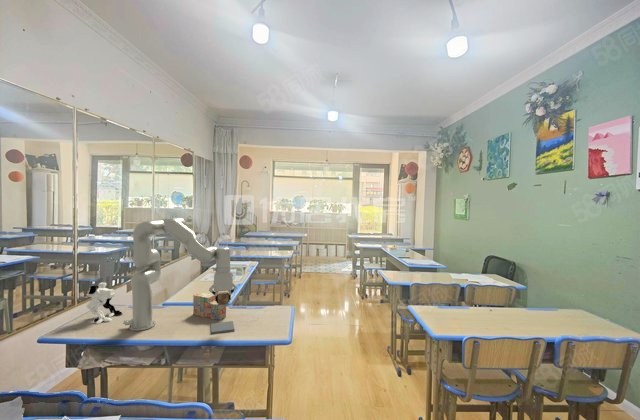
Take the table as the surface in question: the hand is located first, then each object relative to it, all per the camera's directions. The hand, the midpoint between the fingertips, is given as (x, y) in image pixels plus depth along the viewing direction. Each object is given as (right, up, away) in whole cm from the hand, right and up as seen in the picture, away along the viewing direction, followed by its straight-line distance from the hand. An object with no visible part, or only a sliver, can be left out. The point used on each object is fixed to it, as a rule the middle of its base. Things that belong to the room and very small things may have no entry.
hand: (223, 301), depth 167 cm
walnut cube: (0, -1, 0) cm, 1 cm away
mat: (0, -15, 0) cm, 15 cm away
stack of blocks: (-14, -15, +18) cm, 28 cm away
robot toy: (-75, -13, +12) cm, 77 cm away
